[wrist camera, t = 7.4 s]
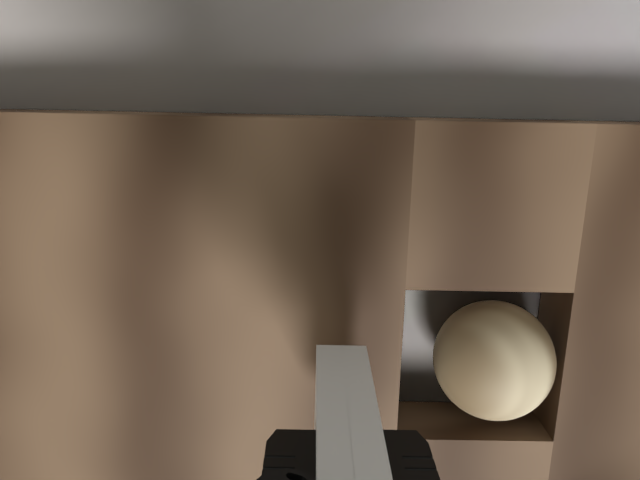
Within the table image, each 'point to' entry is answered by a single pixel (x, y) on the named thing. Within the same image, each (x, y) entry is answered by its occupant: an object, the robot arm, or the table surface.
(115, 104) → the table surface
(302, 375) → the brown wooden flat board
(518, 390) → the ball
